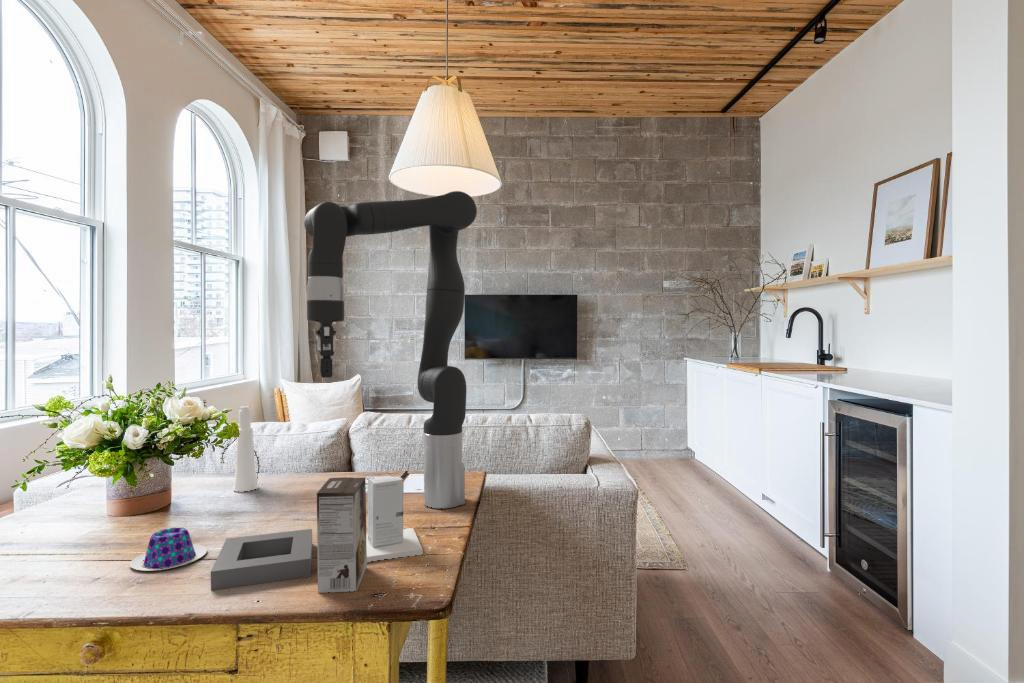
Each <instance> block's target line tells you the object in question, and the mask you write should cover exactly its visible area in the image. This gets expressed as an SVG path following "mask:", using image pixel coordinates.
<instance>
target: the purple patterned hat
mask: <svg viewBox="0 0 1024 683" xmlns="http://www.w3.org/2000/svg"><path fill="white" fill-rule="evenodd" d="M195 552H196V553H195ZM207 552H208V548H207V547H206V546H204V545H202V544H199V543H198V544H197V543H193V541H192V538H191V536H190V533H189V531H188V529H186V528H185V527H169V528H163V529H161V530H158V531H156V532H154V533H152V534H151V536H150V538H149V542H148V545H147V549H146V552H143V553H141V554H139V555H137V556H136V557H134V558H133V559H132V560H130V562H129V566H130V567H131V568H132V569H133V570H137V571H145V572H146V571H148V572H150V571H154V572H155V571H162V570H168V569H172V568H173V569H174V568H178V567H182V566H185V565H188V564H191V563H192V562H195V561H197V560H199V559H200V558H202V557H203V556H204V555H206V554H207ZM193 558H194V559H193ZM143 560H144V562H143V566H145V567H146V568H150V569H146V568H142V567H141V564H142V561H143ZM183 562H184V563H183ZM175 565H176V566H175ZM170 566H172V567H170ZM161 567H162V568H163V569H160V568H161ZM168 567H169V568H168ZM153 568H157V569H153Z"/></svg>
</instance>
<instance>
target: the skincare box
mask: <svg viewBox="0 0 1024 683" xmlns="http://www.w3.org/2000/svg"><path fill="white" fill-rule="evenodd" d="M404 482H405V481H404V479H403V478H402V477H401V476H399V475H397V474H395V475H386V476H385V475H384V476H378V477H377V476H376V477H369V478H368V479H367V533H368V541H369V543H370V544H371V545H372V547H377V546H383V545H389V544H394V543H400V542H402V541H403V529H404V489H405V486H404V484H405V483H404Z"/></svg>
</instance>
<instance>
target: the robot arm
mask: <svg viewBox="0 0 1024 683" xmlns="http://www.w3.org/2000/svg"><path fill="white" fill-rule="evenodd" d="M477 212H478V210H477V204H476V202H475V200H474V199H473V197H471V195H470V194H468V193H466V192H465V191H464V192H463V191H459V190H454V191H450V192H447V193H445V194H441V195H436V196H431V197H426V198H418V199H416V198H415V199H405V200H404V199H403V200H383V201H381V200H380V201H379V200H378V201H363V202H362V201H361V202H356V203H354V204H350V205H346V206H345V205H344V206H340V204H337V203H335V202H333V201H323V202H320V203H319V204H317V205H315V206H314V207H312V208H311V209H310V210H309V211H307V213H306V215H305V217H304V220H303V225H304V229H305V230H306V232H307V234H309V235H310V236H311V238H312V247H311V249H310V252H309V254H308V256H307V257H308V258H307V284H306V320H307V321H308V323H309V322H311V323H312V322H313V323H319V324H320V326H319V328H318V330H316V331H315V339H316V340H317V342H316V344H317V345H316V346H317V350H318V356H319V358H320V362H319V363H320V364H319V367H320V368H319V370H320V376H321V378H323V379H324V378H332V377H333V359H334V357H335V356H334V355H335V349H336V340H337V330H335V328H334V325H333V323H343V322H344V321H345V285H344V284H345V283H344V261H343V256H344V250H345V246H346V240H347V237H352V236H361V235H362V236H365V235H366V236H367V235H369V236H370V235H378V234H388V233H395V232H400V231H405V230H409V229H414V228H421V227H427V226H428V234H429V254H428V255H429V257H428V268H427V270H428V271H427V273H428V275H427V282H426V283H427V285H426V294H425V295H426V297H425V317H424V330H423V331H424V332H423V342H422V351H421V355H420V356H421V357H420V362H419V368H418V373H417V374H418V375H417V381H416V382H417V392H418V393H419V396H420V397H421V398H422V400H424V401H426V402H428V403H432V404H433V406H432V407H433V409H432V410H433V411H432V415H431V417H430V418H427V419H425V420H424V422H423V501H424V502H423V503H424V505H425V507H427V506H428V508H431V507H432V509H441V508H442V509H451V508H455V507H458V506H461V505H465V504H466V483H465V482H466V475H465V474H466V472H465V471H466V465H465V464H464V463H463V426H464V422H465V419H466V413H467V411H466V410H467V382H466V378H465V375H464V372H463V371H462V370H461V369H460V368H458V367H457V366H452V365H448V363H449V362H448V361H449V360H448V359H449V351H450V350H449V349H450V345H451V341H452V339H453V337H454V334H455V332H456V330H457V329H458V327H459V324H460V323H461V320H462V317H463V313H464V306H465V292H466V291H465V290H466V289H465V288H466V287H465V282H464V281H465V280H464V276H463V273H462V270H461V268H460V264H459V261H458V254H457V249H458V248H457V247H458V237H459V231H463V230H464V229H466V228H468V227H469V226H471V225H472V224H473V223H474V222H475V220H476V218H477V214H478V213H477Z"/></svg>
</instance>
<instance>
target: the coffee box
mask: <svg viewBox="0 0 1024 683" xmlns="http://www.w3.org/2000/svg"><path fill="white" fill-rule="evenodd" d="M366 490H367V488H366V477H350V476H349V477H345V476H344V477H343V476H342V477H330V478H328V479H327V481H325V483H324V484H323V485H322V486H321V488H320V489H319V490H318V491H317V492H316V527H317V528H316V531H317V532H316V534H317V537H316V538H317V542H316V543H317V545H316V546H317V549H316V550H317V554H316V556H317V560H316V561H317V593H318V594H322V593H323V594H324V593H325V594H326V593H328V592H330V593H350V592H351V593H352V592H353V593H354V591H355V592H358V590H359V586H361V585H360V584H361V583H362V580H363V577H364V575H365V574H366V573H365V572H366V570H367V568H368V562H367V548H366V533H367V501H366V500H367V495H366V493H367V492H366ZM349 591H350V592H349Z"/></svg>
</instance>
